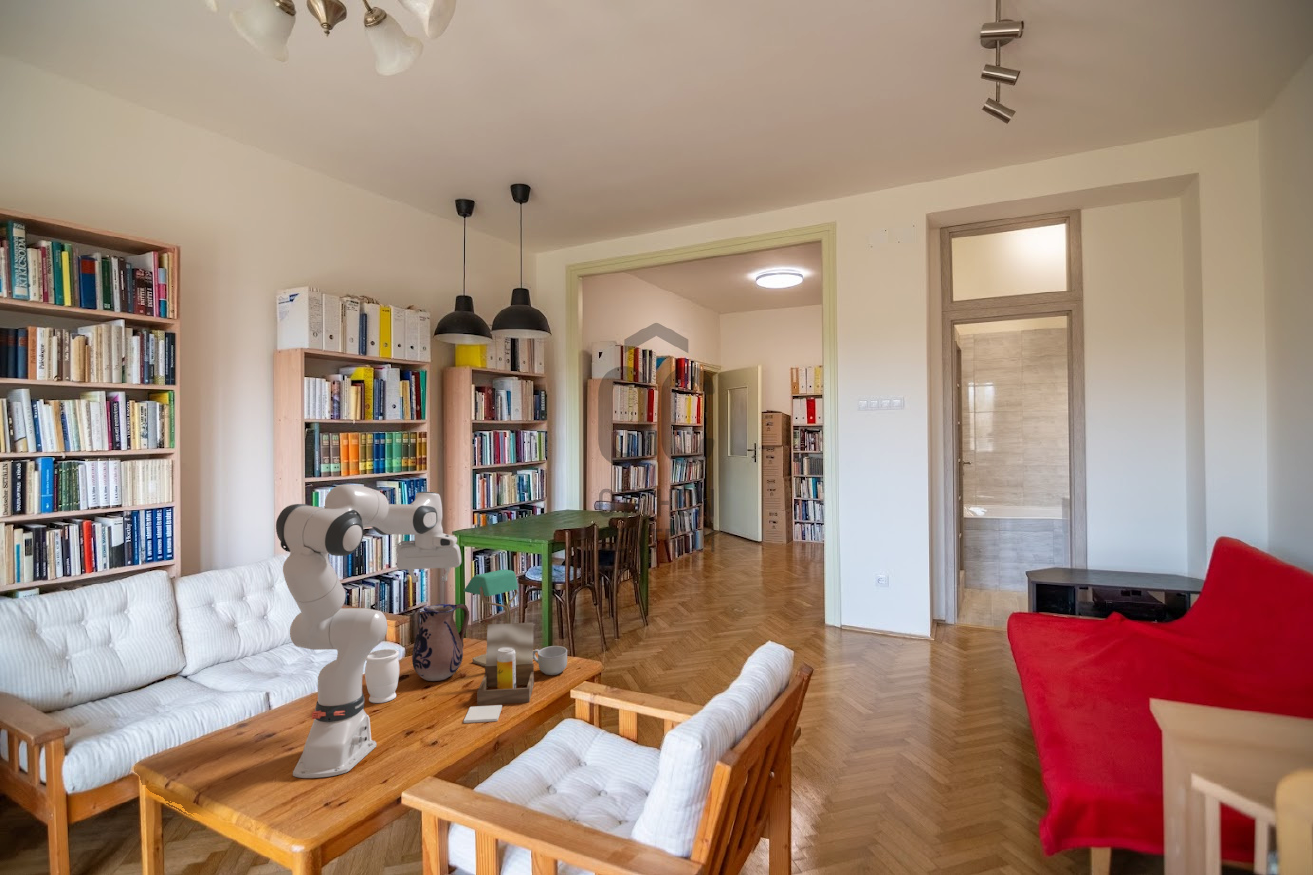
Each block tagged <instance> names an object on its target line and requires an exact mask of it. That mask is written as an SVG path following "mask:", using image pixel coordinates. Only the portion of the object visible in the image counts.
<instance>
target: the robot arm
mask: <svg viewBox="0 0 1313 875" xmlns="http://www.w3.org/2000/svg"><path fill="white" fill-rule="evenodd" d="M442 504H443V503H442V497H441V495H440V494H439V493H438V492H434V491H418V492H417V493H416V494H415V498H414V500H413V501H412V502H411V503H410V504H406V503H404V504H402V503H401V504H399V503H398V504H395V503H394V504H393V503H389V501H388V498H387V497H386V495H384V493H382V492H380V491H378V490H377V489H374V488H371V487H369V486H364V485H360V484H339V485H337V486H335V487H333V488H331V489H330V490H329V492H328V493H327V495H326V497H325V500H324V506H323V507H321V506H316V505H309V504H307V503H295V504H289V505H287V506H286V507H285V508H283V509H282V510H281V511H280V513H279V514H278V516H277V519H276V522H275V530H276V531H275V532H276V535H277V539H278V540H279V541H280V547H281V548H282V549H283V551H285V552H289V553H290V554H289V555H288V556H287V558H286V559H285V561H284V563H283V565H282V572H283V578H284V580H285V584H286V586H287V588H288V590H289V593H290V595H291V596H292V598H293V599H294V601H295V603H296V605H297V606H298V609H299V611H300V612H299V613H298V614H297V615H296V616H295V617H294V619H293V620H292V622H291V625H290V628H289V637H290V640H291V643H292V644H293V645H294V646H295V647H298V648H302V649H308V650H312V651H313V650H315V651H317V650H320V651H321V650H322V651H323V650H324V651H325V650H326V651H327V650H336V651H337V656H336V659H333V661H330V662H329V663H328V664H326V665H325V666H324V667H322V669H320V671H319V673H318V676H317V701H316V705H315V709H314V710H313V711H312V712H311V720H313V722H312V725H311V728H310V730H309V732H308V733H309V734H308V735H307V738H306V740H305V744H304V747H303V752H302V753H301V756H300V758H299V760H298V762H297V763H296V765H295V767H294V768H293V771H292V776H293V777H295V778H300V779H315V778H316V779H317V778H318V779H319V778H327V777H333V776H337V775H343V774H346V773H348V772H349V771H351V770H352V769H353V768H354V767H355V766H356V765H357V764H358V763H360V762H361V761H362V760H363V759H364V758H365V757H366V756H368V754H370V753H371V752H372V751H373V750H374V749H375V748H377V741H376V740H373V739H372V733H371V719H370V718H371V717H370V716H369V714H368V713H366V711H365V710H364V708H365V695H364V693H363V672H364V667H365V664H366V658H367V656H368V655H369V653H370V652H373V651H374V649H375V648H376V647H378V645H380V644H381V642H383V641H384V638H385V637H386V635H387V632H388V621H387V617H386V615H385V614H384V613H383V612H382V611H381V610H377V609H372V608H368V607H367V608H366V607H361V608H360V607H354V608H353V607H352V608H348V607H346V608H343V606H344V603H345V601H346V594H347V593H346V590H345V587H344V586H343V584H342V582H341V580H340V579H339V576H338V574H337V573H336V571H335V569H334V568H333V566H332V565H331V563H330V559H329V555H331V556H334V557H345V556H349V555H351V554H352V553H355V551H356V550H358V548H359V547H360V545H361V544H362V542H363V539H364V528H372V529H373V530H374V531H375V532H376V533H378V534H379V535H381V536H391V535H400V536H401V535H402V536H403V535H404V536H405V535H407V536H411V535H412V536H413V535H414V540H402V541H401V542H399V543H397V545H396V553H397V557H396V558H397V560H396V567H397V569H398V570H400V571H401V570H402V571H404V570H407V571H408V574H409V576H410V577H411V579H412V580H411V581H412V582H411V583H416V584H417V583H418V582H419V575H415V573H414V572H415V570H423V569H424V570H426V569H444V571H445V574H442V575H441V582H447V581H448V575H449V573H450V572H451V568H452V569H453V568H458V567H460V566H461V564H462V553H461V549H460V546H459V544H457V543H458V537H457V536H456V535H455V536H454V535H451V534H448V533H447V534H446V533H444V529H443V526H442V521H443V505H442Z"/></svg>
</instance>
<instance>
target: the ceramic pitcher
mask: <svg viewBox="0 0 1313 875" xmlns="http://www.w3.org/2000/svg"><path fill="white" fill-rule="evenodd" d="M422 609H423V610H421V611H419V612H418V614H419V626H418V628H417V633H416V636H415V638H414V639H415V640H414V644H413V647H412V653H411V660H412V665H413V669H414V672H415V673H416V674H417V675H418V676H419V677H420V678H422V679H423V680H425V681H429V682H436V681H437V682H438V681H439V682H440V681H445V680H447V679H448V678H450V677H451V676H453V675H454V674H455V673H456V672H457V671H458V670H459V668H460V666H462V662H463V658H464V646H465V645H464V638H465V635H466V631H467V628H468V625H469V621H470V610H469V608H468V606H467V605H465V604H464V603H458V604H451V603H449V604H448V603H440V604H439V603H438V604H433V605H432V604H431V605H428V606H425V607H423V608H422ZM457 609H462V611H463V613H464V617H463V622H462V626H461V629H460V631H459V630H458V628H457V625H456V622H455V619H454V614H455V611H456V610H457Z"/></svg>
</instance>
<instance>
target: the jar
mask: <svg viewBox="0 0 1313 875" xmlns="http://www.w3.org/2000/svg"><path fill="white" fill-rule="evenodd" d="M399 655H400V651H399V650H398V649H394V648H386V649H378V650H372V651H371V652H370V653H369V655H368V656H367V658H366V660H365V666H364V667H365V668H364V677H365V678H364V680H365V684H366V689H367V692H368V694H369V695H370V696H369V698H368V702H370V703H372V704H383V703H387V702H388V703H389V702H390V701H393V700H394V699H396V697H397V693H396V690H397V688H398V685H399V684H398V683H399V677H400V662H399V661H400V660H399V658H398V657H399Z"/></svg>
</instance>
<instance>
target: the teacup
mask: <svg viewBox="0 0 1313 875" xmlns="http://www.w3.org/2000/svg"><path fill="white" fill-rule="evenodd" d="M536 654H537V656H536ZM533 661H534V662H536V663H537V664H538V668H539V670H540V671H541V673H543V674H545V675H546V676H556V675H559V674H562V672H563V671H564V670H565V669H566V668H567V666H568V649H567V648H566V647H564V646H562V645H561V646H560V645H551V646H546V647H543V648H541V649H533Z"/></svg>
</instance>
